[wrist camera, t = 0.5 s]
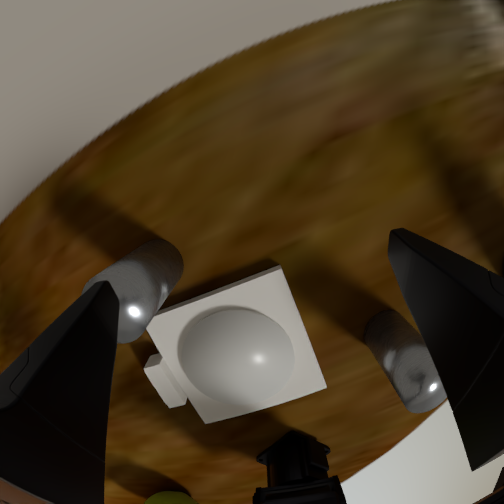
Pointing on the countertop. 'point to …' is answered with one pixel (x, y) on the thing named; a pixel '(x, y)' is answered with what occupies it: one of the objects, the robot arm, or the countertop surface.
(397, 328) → the cylinder
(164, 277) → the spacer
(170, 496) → the fruit
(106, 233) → the countertop surface
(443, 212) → the countertop surface
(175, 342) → the scale
